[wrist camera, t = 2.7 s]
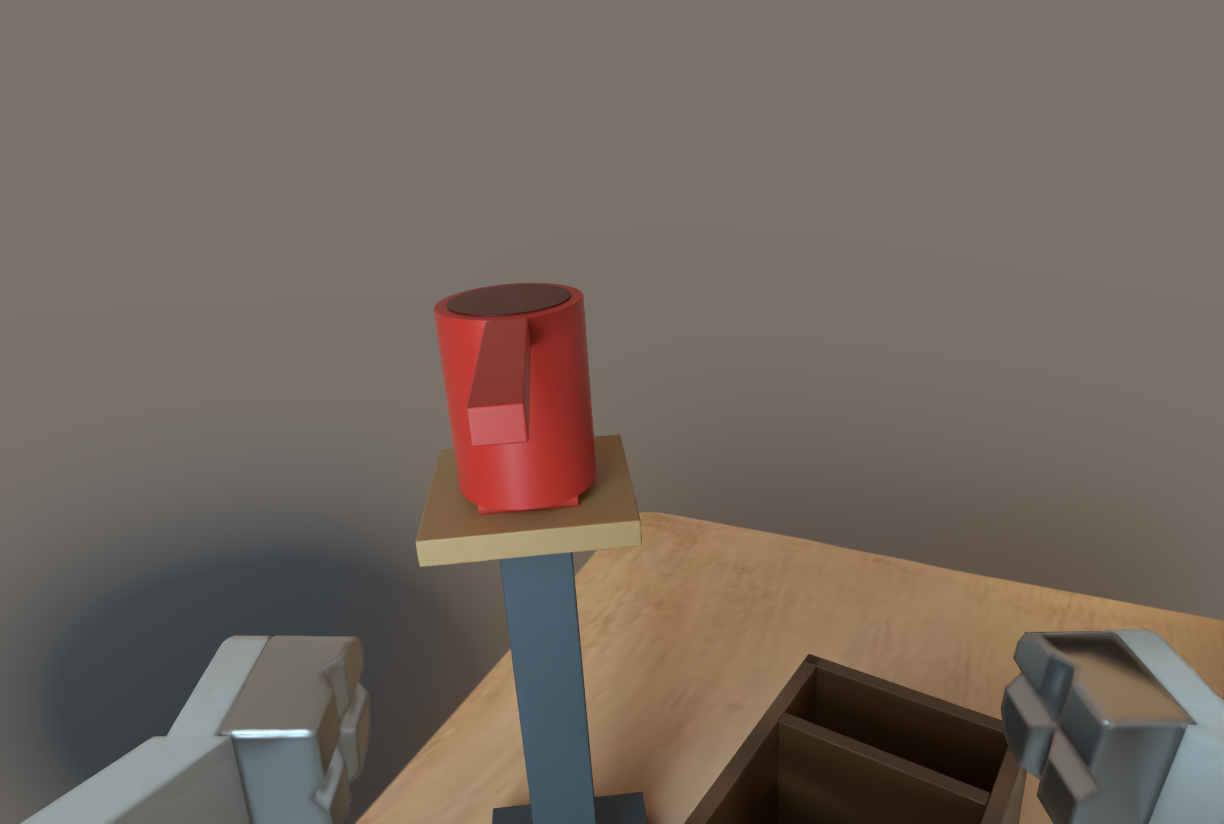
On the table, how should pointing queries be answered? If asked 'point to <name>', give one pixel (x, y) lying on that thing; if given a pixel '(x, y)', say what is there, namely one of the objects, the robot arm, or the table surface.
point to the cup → (518, 395)
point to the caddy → (866, 759)
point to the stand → (544, 623)
